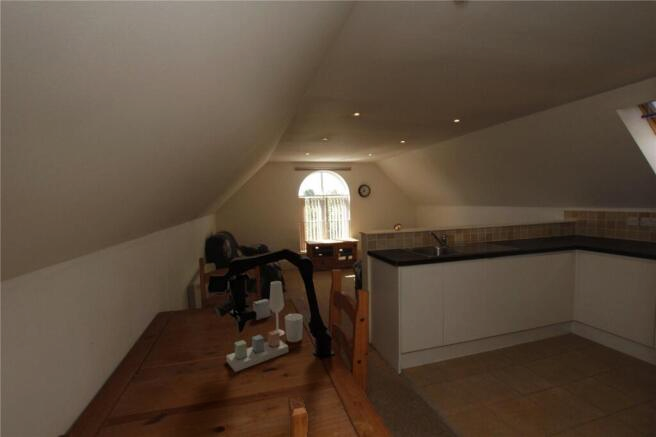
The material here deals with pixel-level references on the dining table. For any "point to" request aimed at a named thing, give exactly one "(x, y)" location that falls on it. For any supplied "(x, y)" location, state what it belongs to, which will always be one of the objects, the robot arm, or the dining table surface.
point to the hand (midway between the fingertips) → (240, 331)
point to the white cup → (293, 327)
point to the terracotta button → (273, 338)
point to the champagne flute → (276, 301)
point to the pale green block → (240, 349)
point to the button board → (256, 356)
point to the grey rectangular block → (257, 343)
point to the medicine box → (262, 308)
